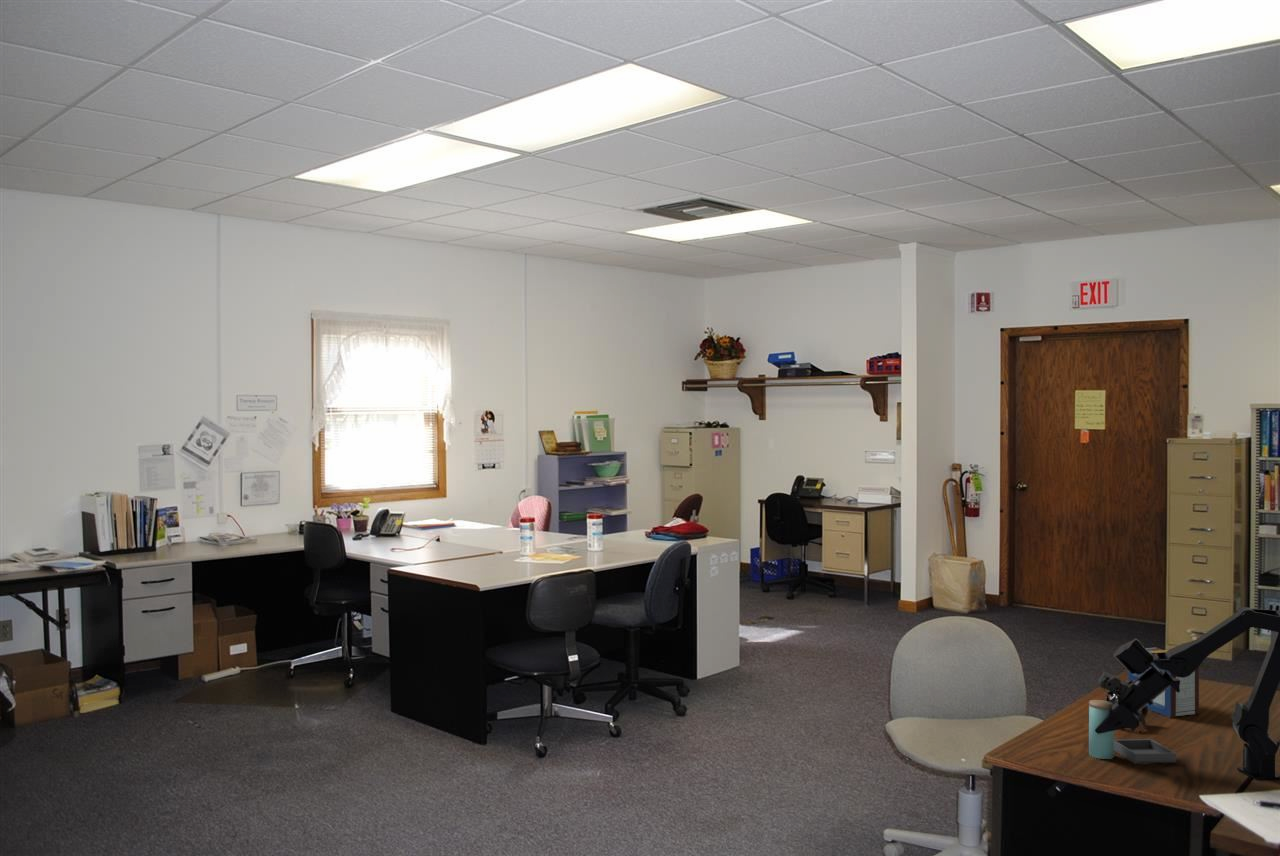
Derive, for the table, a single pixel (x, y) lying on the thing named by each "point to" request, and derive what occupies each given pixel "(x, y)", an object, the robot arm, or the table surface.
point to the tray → (1144, 751)
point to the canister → (1101, 742)
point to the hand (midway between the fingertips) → (1095, 728)
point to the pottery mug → (1142, 719)
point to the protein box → (1175, 694)
